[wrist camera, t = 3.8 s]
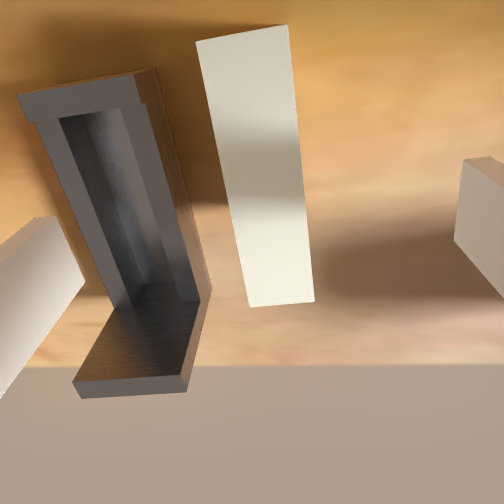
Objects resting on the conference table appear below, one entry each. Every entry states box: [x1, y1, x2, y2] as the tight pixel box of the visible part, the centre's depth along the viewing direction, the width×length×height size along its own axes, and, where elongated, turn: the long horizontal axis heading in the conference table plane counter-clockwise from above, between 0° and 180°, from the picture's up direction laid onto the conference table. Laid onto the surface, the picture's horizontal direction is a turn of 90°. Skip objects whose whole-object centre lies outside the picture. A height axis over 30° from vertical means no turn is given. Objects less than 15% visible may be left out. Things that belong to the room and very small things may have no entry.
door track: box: [16, 67, 212, 399], centre depth 24 cm, size 17×7×11 cm, turn 9°
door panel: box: [195, 25, 315, 308], centre depth 20 cm, size 11×3×12 cm, turn 9°
